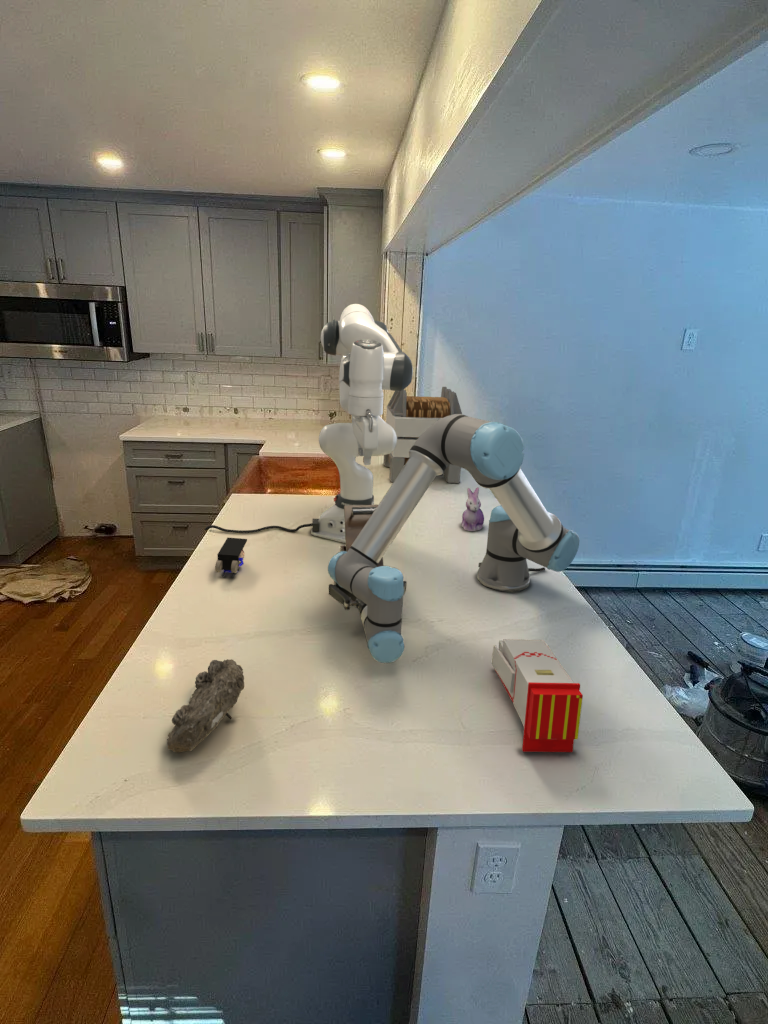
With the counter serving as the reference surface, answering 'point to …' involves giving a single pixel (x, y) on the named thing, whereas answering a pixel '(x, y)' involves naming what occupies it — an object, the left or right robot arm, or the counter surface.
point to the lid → (357, 522)
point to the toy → (539, 694)
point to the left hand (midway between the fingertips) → (364, 459)
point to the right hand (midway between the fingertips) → (363, 574)
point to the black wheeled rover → (230, 556)
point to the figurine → (473, 512)
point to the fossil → (206, 705)
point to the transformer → (417, 426)
